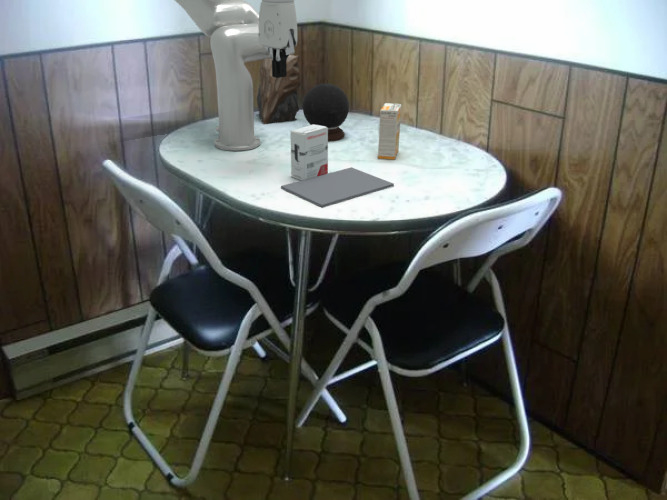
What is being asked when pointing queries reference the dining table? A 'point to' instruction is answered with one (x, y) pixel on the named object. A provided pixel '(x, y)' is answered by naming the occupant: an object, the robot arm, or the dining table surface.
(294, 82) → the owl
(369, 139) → the dining table surface
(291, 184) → the mat
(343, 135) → the ball on wooden base
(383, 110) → the supplement box
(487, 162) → the dining table surface
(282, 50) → the robot arm
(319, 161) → the ink box
